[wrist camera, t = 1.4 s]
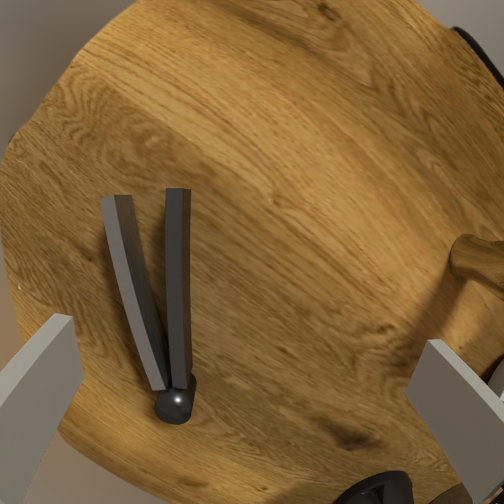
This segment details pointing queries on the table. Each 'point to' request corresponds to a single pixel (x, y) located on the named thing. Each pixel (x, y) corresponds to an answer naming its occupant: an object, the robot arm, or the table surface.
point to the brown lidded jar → (455, 496)
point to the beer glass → (479, 262)
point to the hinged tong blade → (136, 288)
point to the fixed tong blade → (178, 310)
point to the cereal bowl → (498, 381)
